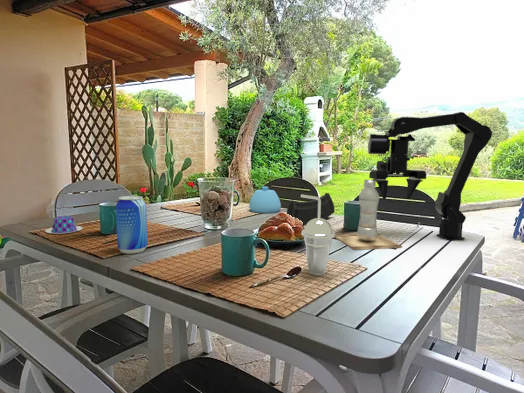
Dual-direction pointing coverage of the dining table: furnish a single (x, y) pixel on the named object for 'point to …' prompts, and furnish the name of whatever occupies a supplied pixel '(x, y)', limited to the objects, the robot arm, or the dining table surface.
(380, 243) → the mat
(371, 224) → the plastic bottle
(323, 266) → the cup with straw
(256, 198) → the sugar bowl
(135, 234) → the beer can
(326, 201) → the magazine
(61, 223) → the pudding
